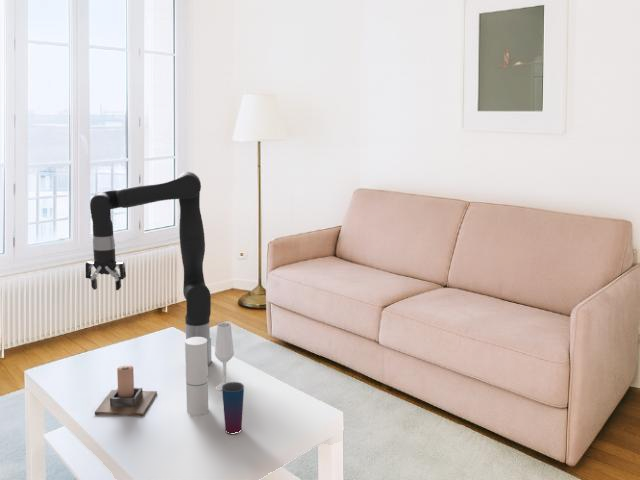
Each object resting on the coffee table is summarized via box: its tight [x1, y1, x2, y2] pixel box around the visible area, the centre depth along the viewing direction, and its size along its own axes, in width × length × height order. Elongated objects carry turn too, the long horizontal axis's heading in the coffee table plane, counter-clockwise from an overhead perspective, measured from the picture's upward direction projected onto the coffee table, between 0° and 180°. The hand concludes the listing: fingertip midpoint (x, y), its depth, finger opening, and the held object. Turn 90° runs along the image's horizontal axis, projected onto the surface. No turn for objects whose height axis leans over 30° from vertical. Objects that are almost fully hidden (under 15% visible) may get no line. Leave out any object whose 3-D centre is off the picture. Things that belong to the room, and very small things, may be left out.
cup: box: [221, 381, 245, 433], centre depth 199 cm, size 7×7×15 cm
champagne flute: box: [214, 322, 235, 391], centre depth 227 cm, size 7×7×24 cm
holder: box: [94, 387, 158, 417], centre depth 215 cm, size 16×16×4 cm
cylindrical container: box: [184, 337, 210, 417], centre depth 209 cm, size 7×7×25 cm
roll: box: [116, 364, 135, 398], centre depth 214 cm, size 5×5×12 cm
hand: (106, 289), depth 235 cm, fingers open, 8 cm apart
